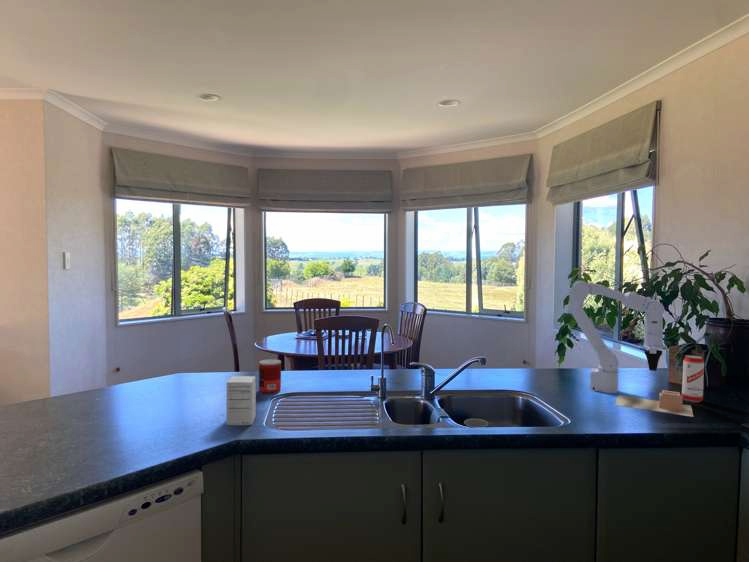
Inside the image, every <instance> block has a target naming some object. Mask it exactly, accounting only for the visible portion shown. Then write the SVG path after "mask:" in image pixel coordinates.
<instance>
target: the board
mask: <svg viewBox="0 0 749 562" xmlns="http://www.w3.org/2000/svg"><path fill="white" fill-rule="evenodd" d="M614 405H615V406H620V407H627V408H634V409H639V410H640V409H641V410H647V411H652V412H660V413H665V414H672V415H679V416H685V417H691V418H693V417H694V414H693V413H694V412H693V409H692V405H689V404H683V407H682V411H676V410H669V409H663V408H659V400H655V399H648V398H641V397H633V396H626V395H617V397H616V400H615V404H614Z"/></svg>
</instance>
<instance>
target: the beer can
mask: <svg viewBox="0 0 749 562" xmlns="http://www.w3.org/2000/svg"><path fill="white" fill-rule="evenodd" d="M704 370H705V361H704V359H703V357H702V356H700V355H699V356H698V355H692V354H691V355H685V357H684V359H683V363H682V379H681V380H682V385H681V396H682V398H683V400H684V401H686V402H689V401H690V403H700V402H702V401H703V396H704V378H705V377H704V372H705V371H704Z"/></svg>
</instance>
